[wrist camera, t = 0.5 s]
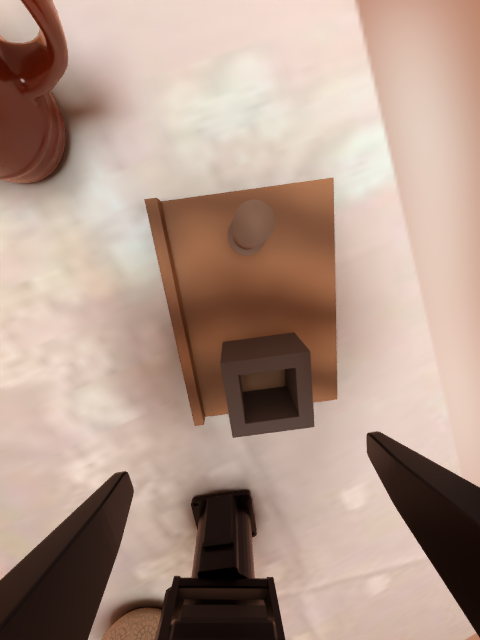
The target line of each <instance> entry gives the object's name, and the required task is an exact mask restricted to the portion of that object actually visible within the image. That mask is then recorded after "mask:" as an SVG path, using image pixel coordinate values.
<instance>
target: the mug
mask: <svg viewBox="0 0 480 640" xmlns="http://www.w3.org/2000/svg"><path fill="white" fill-rule="evenodd" d="M21 1H22V3H23V4H24V5H25V7H26V8H27V9H28V11H29V12H30V14H31V15H32V17H33V18H34V20H35V21H36V23H37V24H38V26H39V27H40V30H39V34H38V35H37V37H36V38H35V39H33V40H32V41H29V42H26V43H11V42H7V41H6V40H5V39H3V38H2V37H1V36H0V180H5V181H11V182H16V183H32V182H36V181H39V180H42V179H44V178H45V177H47V176H48V175H50V174H51V173H52V172H53V171H54V170H55V168H56V167H57V166H58V164H59V162H60V160H61V158H62V155H63V152H64V148H65V142H66V133H65V126H64V122H63V118H62V114H61V112H60V109H59V107H58V104H57V102H56V100H55V98H54V96H53V94H52V93H51V90H52V89H53V87H54V86H55V85H56V83H57V82H58V81H59V79H60V78H61V77H62V75H63V74H64V72H65V70H66V68H67V65H68V49H67V43H66V39H65V35H64V31H63V28H62V25H61V22H60V19H59V16H58V13H57V10H56V8H55V5H54V3H53V0H21Z"/></svg>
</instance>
